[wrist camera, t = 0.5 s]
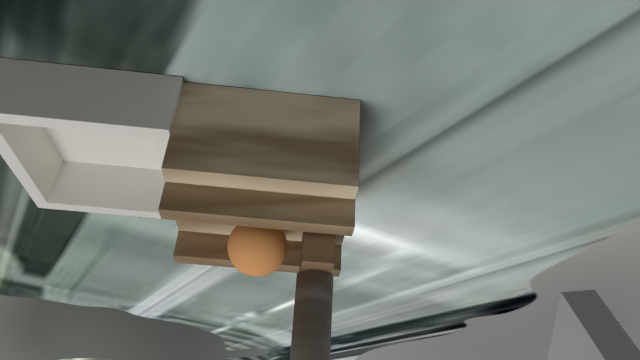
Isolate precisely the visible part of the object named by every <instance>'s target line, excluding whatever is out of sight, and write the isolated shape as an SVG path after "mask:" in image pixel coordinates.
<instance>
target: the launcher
mask: <svg viewBox="0 0 640 360" xmlns="http://www.w3.org/2000/svg"><path fill="white" fill-rule="evenodd" d="M359 142H360V100H353V99H343V98H333V97H324V96H314V95H304V94H295V93H285V92H276V91H266V90H256V89H247V88H237V87H227V86H218V85H208V84H198V83H189V82H183V86H182V90H181V94H180V97H179V101H178V105H177V109H176V113H175V117H174V121H173V124H172V128H171V132H170V136H169V140H168V144H167V148H166V152H165V155H164V159H163V163H162V167H161V169H162V172H163V176H164V180H165V184H164V188H163V192H162V196H161V200H160V204H159V208H158V210H159V213H160V217H161V219H168V220H176V222H177V226H178V229H179V232H178V237H177V241H176V246H175V250H174V255H173V256H174V259H175V262H177V263H188V264H200V265H212V266H223V267H235V266H234V265H233V264H232V262H231V260H230V258H229V255H228V248H227V246H228V239H229V236H230V234H231V232H232V230H233V229H234V228H235V226H246V227H257V228H268V229H279V230H283V232H284V234H285V236H286V240H287V253H286V256H285V259H284V261H283V262H282V264H281V265H280V266H279V267H278V268H277V269H276V270H275V271H281V272H293V273H299V267H300V254H301V242H302V235H303V232H312V233H324V234H335V257H334V266H333V270H332V273H331V274H332V275H333V276H339V274H340V271H341V245H342V242H343V238H344V235H346V236H352V234H353V231H354V227H355V198H356V195H357V191H358V188H359ZM235 268H236V267H235Z"/></svg>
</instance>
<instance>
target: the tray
mask: <svg viewBox="0 0 640 360" xmlns="http://www.w3.org/2000/svg"><path fill="white" fill-rule="evenodd" d="M182 86H183V77H180V76H171V75H161V74H151V73H142V72H132V71H123V70H113V69H103V68H94V67H84V66H75V65H65V64H55V63H46V62H36V61H27V60H17V59H8V58H0V154H1V156H2V157H3V158H4V160H5V161H6V163H7V164H8V166H9V167H10V168H11V170H12V171H13V173H14V174H15V175H16V177H17V178H18V180H19V181H20V182H21V184H22V185H23V187H24V188H25V189H26V191H27V192H28V194H29V195H30V196H31V198H32V199H33V201H34V202H35V203H36V205H37V206H38V208H48V209H59V210H70V211H81V212H92V213H103V214H115V215H126V216H137V217H148V218H159V219H161V217H160V213H159V210H158V208H159V204H160V200H161V196H162V192H163V188H164V184H165V180H164V176H163V172H162V169H161V167H162V163H163V159H164V155H165V152H166V148H167V144H168V140H169V136H170V132H171V128H172V124H173V121H174V117H175V113H176V109H177V105H178V101H179V97H180V94H181V90H182Z"/></svg>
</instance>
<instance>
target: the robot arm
mask: <svg viewBox="0 0 640 360" xmlns="http://www.w3.org/2000/svg"><path fill="white" fill-rule="evenodd" d="M548 360H640V351H639V349H638V348H637V347H636V345H635V344H634V343H633V341H632V340H631V339H630V337H629V336H628V334H627V333H626V332H625V330H624V329H623V328H622V326H621V325H620V324H619V322H618V321H617V320H616V318H615V317H614V315H613V314H612V313H611V311H610V310H609V309H608V307H607V306H606V305H605V303H604V302H603V300H602V299H601V298H600V296H599V295H598V294H597V292H596V291H595V290H584V291H573V292H562V293H561V296H560V301H559V306H558V311H557V316H556V320H555V326H554V330H553V335H552V340H551V345H550V350H549V355H548Z"/></svg>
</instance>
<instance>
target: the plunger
mask: <svg viewBox="0 0 640 360" xmlns="http://www.w3.org/2000/svg"><path fill="white" fill-rule="evenodd" d="M334 257H335V234H324V233H312V232H303V235H302V242H301V254H300V267H299V273H298V274H297V280H296V293H295V305H294V318H293V330H292V342H291V355H290V360H330V345H331V320H332V296H333V275H332V274H331V273H332V270H333V266H334Z"/></svg>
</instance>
